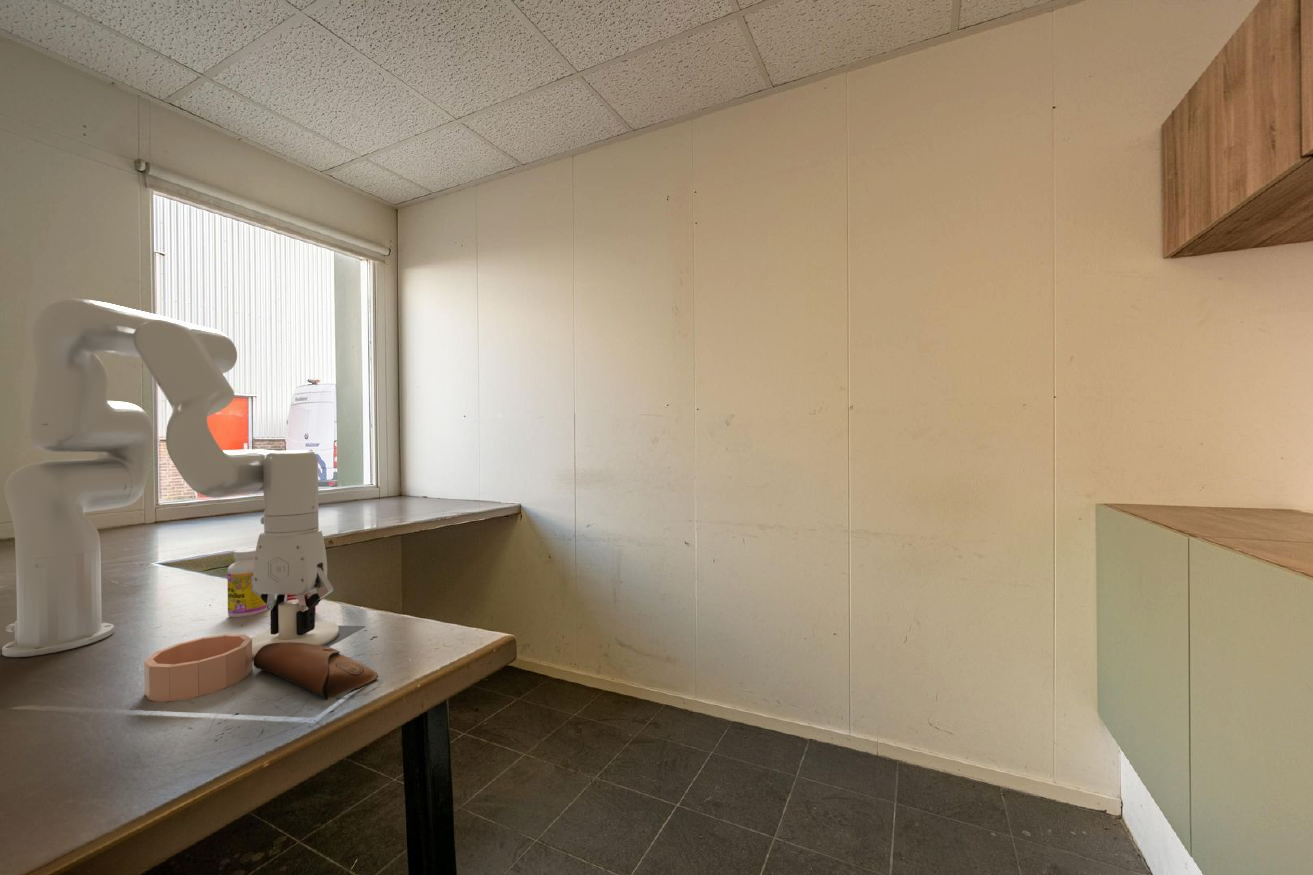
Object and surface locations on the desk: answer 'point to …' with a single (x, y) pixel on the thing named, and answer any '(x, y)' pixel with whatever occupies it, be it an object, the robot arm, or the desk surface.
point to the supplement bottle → (243, 585)
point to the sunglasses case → (314, 667)
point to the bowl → (197, 667)
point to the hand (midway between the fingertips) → (293, 630)
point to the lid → (294, 629)
